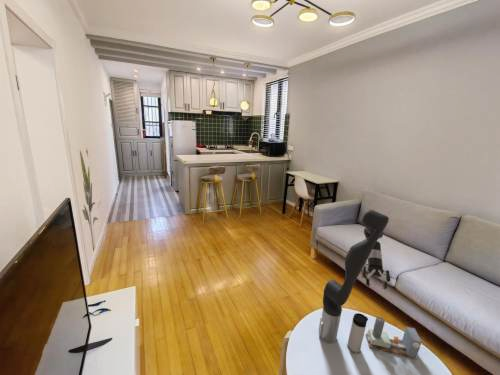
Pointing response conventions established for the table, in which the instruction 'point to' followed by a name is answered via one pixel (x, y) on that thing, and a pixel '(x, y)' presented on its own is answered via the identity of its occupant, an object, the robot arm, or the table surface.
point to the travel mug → (357, 332)
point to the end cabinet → (411, 341)
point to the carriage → (379, 334)
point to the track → (393, 348)
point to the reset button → (397, 340)
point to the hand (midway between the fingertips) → (376, 287)
